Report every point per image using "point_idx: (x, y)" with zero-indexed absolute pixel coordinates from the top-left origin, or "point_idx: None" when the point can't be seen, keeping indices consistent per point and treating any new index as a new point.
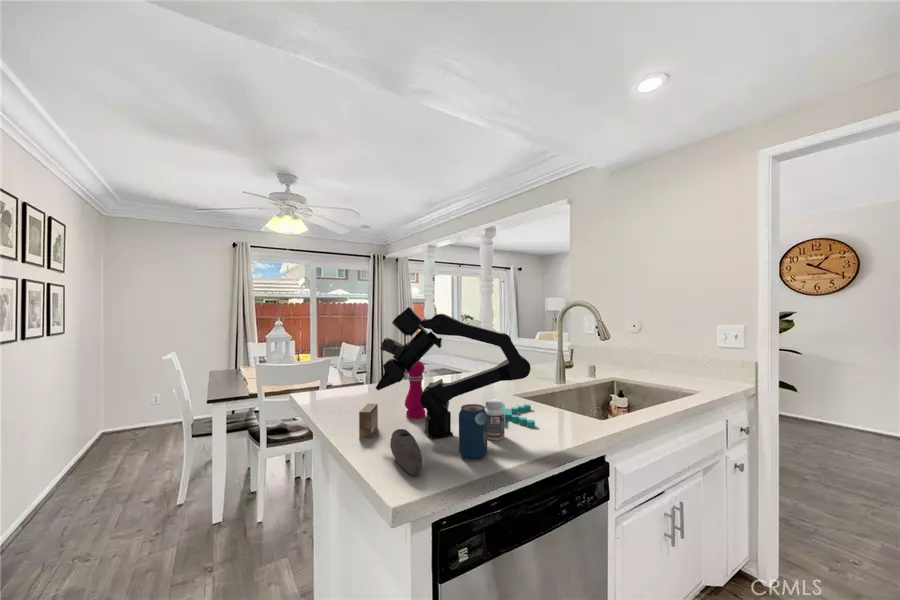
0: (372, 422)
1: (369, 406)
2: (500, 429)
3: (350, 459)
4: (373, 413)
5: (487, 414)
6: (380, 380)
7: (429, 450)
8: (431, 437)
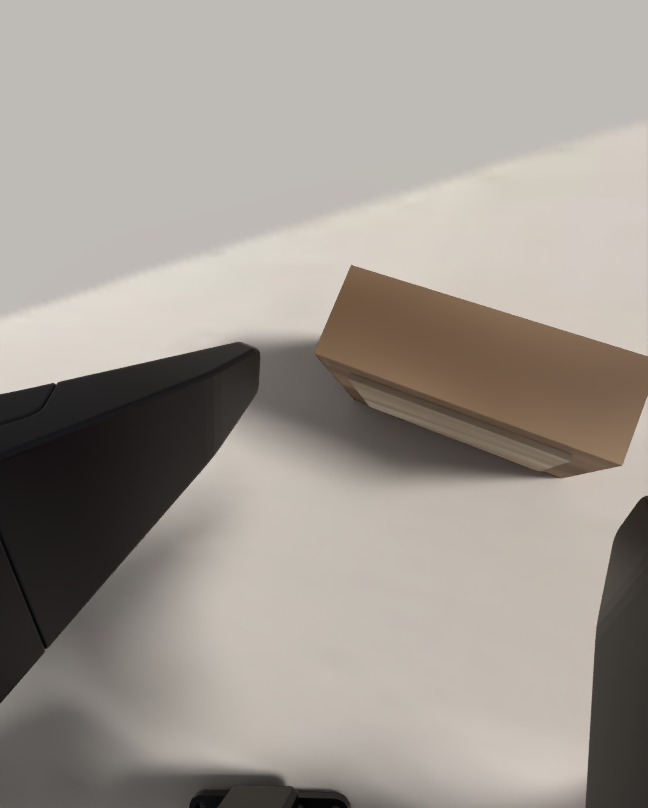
0: (385, 402)
1: (519, 367)
2: None
3: (119, 284)
4: (413, 403)
5: None
6: (86, 379)
7: (56, 693)
8: (209, 792)
